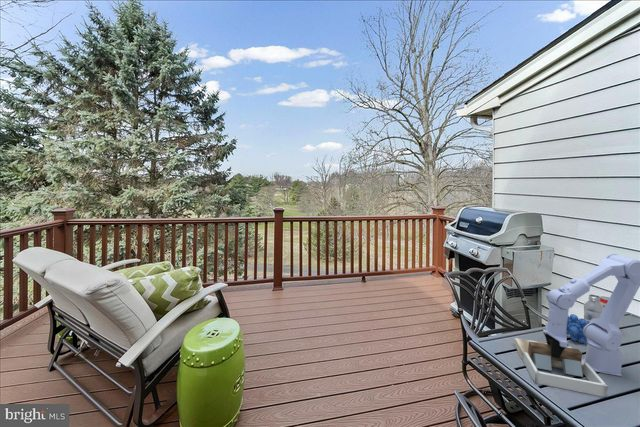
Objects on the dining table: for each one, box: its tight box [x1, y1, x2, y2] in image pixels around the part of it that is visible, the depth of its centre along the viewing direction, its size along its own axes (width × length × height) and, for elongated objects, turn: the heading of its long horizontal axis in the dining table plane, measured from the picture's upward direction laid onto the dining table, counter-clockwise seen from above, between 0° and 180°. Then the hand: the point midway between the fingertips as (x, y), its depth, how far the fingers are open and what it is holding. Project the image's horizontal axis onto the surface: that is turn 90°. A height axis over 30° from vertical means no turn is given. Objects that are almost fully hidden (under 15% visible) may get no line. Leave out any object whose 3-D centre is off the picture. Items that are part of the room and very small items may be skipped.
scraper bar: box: [528, 340, 583, 362], centre depth 113 cm, size 16×3×4 cm, turn 70°
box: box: [522, 352, 608, 398], centre depth 106 cm, size 20×13×4 cm, turn 70°
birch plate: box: [513, 337, 584, 373], centre depth 119 cm, size 20×13×3 cm, turn 70°
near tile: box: [562, 359, 584, 378], centre depth 109 cm, size 5×5×2 cm
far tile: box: [533, 353, 553, 371], centre depth 112 cm, size 5×5×2 cm
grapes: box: [566, 313, 588, 344], centre depth 130 cm, size 12×7×12 cm, turn 36°
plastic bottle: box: [583, 294, 603, 324], centre depth 133 cm, size 6×7×20 cm
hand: (553, 354), depth 113 cm, fingers closed on scraper bar, 3 cm apart
